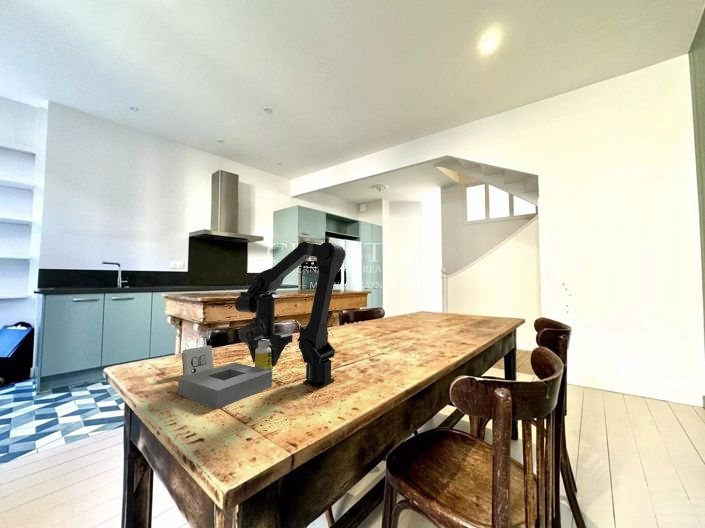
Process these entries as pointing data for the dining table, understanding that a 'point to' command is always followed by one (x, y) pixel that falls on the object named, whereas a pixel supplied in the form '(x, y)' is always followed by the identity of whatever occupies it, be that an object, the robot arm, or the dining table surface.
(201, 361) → the electrical switch
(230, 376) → the socket block
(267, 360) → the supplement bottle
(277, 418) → the dining table surface
